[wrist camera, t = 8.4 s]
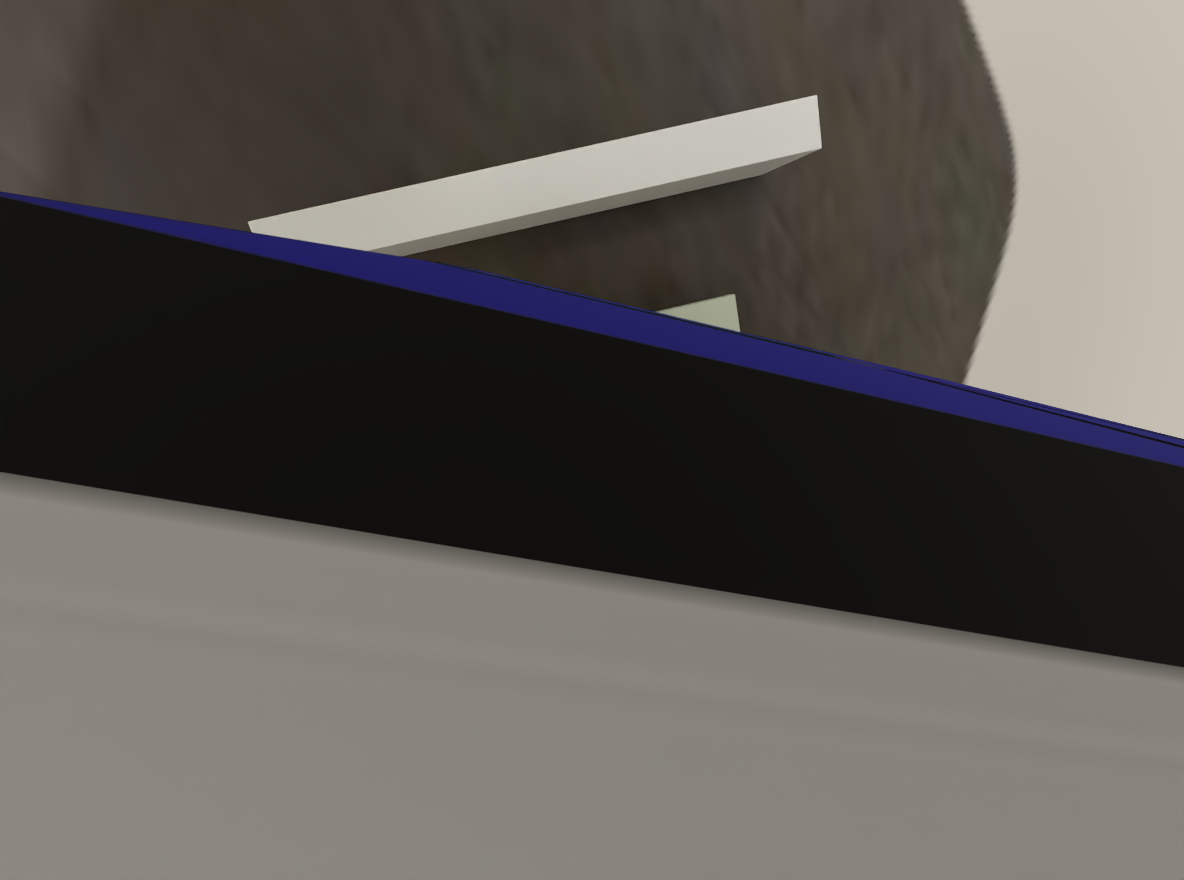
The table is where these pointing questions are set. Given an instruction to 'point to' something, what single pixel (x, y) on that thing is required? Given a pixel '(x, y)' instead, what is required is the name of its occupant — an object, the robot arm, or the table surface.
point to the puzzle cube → (549, 587)
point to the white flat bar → (560, 184)
